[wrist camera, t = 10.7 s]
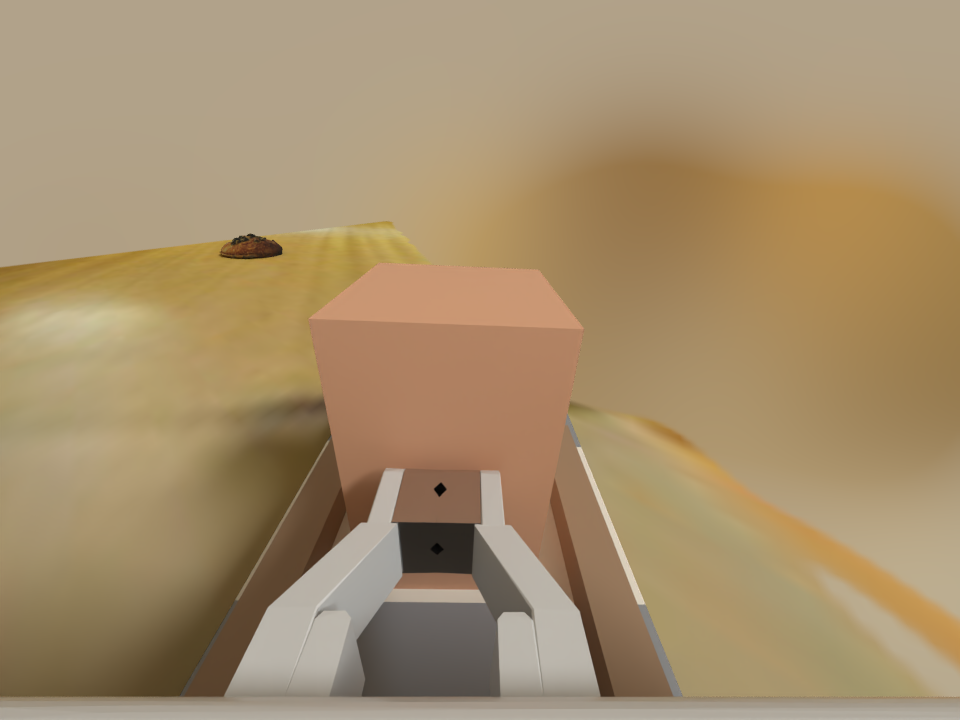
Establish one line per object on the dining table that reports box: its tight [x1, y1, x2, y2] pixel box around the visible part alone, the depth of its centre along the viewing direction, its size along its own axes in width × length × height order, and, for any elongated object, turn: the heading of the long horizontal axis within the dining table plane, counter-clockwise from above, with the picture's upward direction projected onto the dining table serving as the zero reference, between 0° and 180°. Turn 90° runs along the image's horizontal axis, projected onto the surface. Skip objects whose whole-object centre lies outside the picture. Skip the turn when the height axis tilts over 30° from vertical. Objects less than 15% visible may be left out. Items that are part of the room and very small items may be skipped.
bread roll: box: [220, 234, 282, 259], centre depth 70 cm, size 11×11×5 cm
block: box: [309, 263, 584, 590], centre depth 12 cm, size 6×6×10 cm
